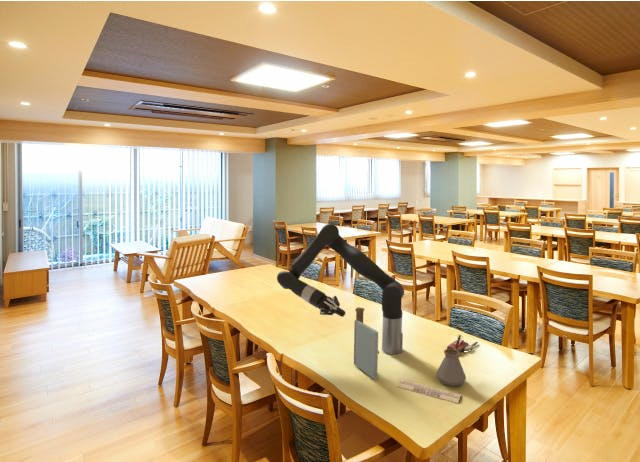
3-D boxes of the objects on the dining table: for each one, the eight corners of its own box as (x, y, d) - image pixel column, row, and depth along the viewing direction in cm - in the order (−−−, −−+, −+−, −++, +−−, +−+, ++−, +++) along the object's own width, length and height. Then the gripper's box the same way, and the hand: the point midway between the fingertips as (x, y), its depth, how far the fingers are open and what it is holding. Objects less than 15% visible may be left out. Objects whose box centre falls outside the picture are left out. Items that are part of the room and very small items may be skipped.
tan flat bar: (461, 397, 150) (461, 393, 150) (457, 407, 144) (457, 402, 144) (401, 382, 162) (401, 377, 161) (396, 389, 156) (396, 385, 155)
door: (353, 363, 175) (353, 320, 172) (359, 361, 177) (360, 319, 174) (373, 379, 161) (374, 332, 159) (380, 377, 163) (381, 331, 160)
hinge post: (357, 359, 180) (358, 307, 177) (363, 361, 178) (364, 308, 175) (354, 362, 177) (355, 309, 174) (360, 363, 176) (361, 310, 173)
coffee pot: (462, 392, 153) (464, 355, 151) (432, 384, 158) (434, 349, 157) (472, 369, 171) (474, 337, 169) (445, 363, 177) (447, 331, 175)
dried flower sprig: (462, 358, 182) (479, 345, 197) (462, 349, 182) (479, 337, 196) (444, 352, 188) (462, 340, 203) (444, 344, 188) (462, 332, 202)
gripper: (305, 297, 175) (337, 317, 168) (322, 283, 185) (353, 300, 178) (304, 309, 180) (335, 328, 172) (320, 294, 189) (350, 312, 182)
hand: (344, 314), depth 175 cm, fingers closed
